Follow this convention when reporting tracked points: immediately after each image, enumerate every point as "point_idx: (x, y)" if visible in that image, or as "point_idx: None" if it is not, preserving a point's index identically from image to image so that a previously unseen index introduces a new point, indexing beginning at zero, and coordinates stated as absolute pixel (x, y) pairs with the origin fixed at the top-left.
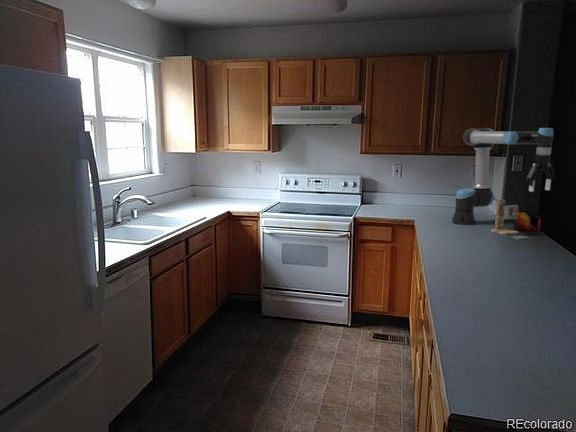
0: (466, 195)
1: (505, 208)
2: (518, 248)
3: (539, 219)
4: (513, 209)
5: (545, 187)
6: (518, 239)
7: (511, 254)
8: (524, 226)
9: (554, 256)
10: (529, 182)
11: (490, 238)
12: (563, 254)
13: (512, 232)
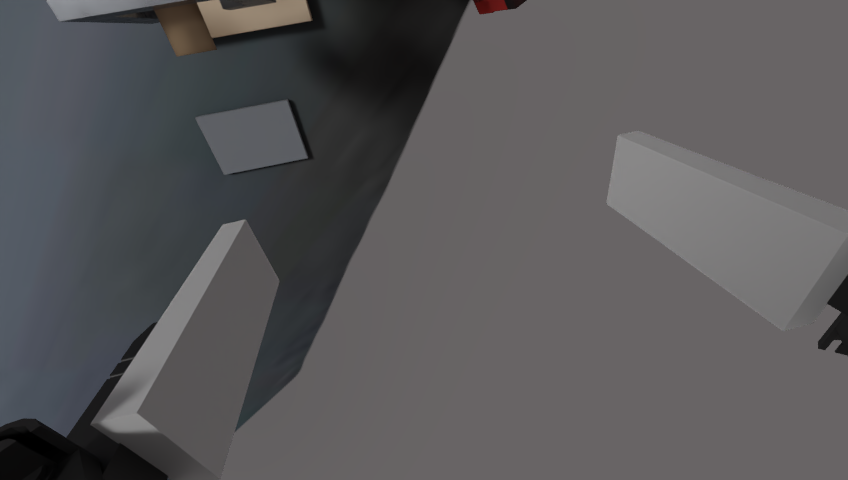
0: None
1: None
2: (150, 298)
3: (503, 3)
4: (164, 29)
5: (648, 152)
6: (223, 171)
7: (84, 358)
8: None
9: None
10: (101, 397)
11: (46, 105)
12: (284, 362)
13: (252, 29)
